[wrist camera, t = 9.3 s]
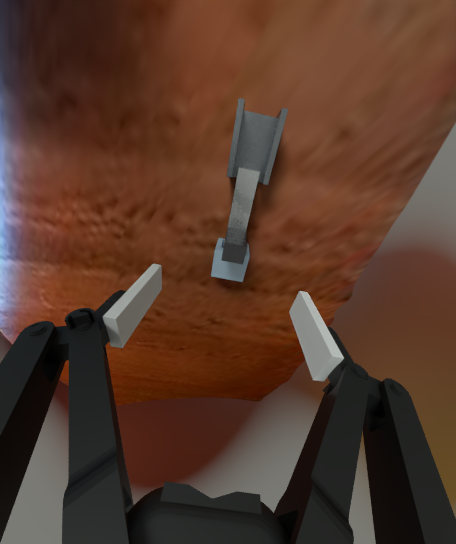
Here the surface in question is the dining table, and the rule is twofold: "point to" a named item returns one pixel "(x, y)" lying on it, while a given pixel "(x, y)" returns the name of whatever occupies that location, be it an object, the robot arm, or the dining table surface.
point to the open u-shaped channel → (255, 142)
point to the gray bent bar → (240, 216)
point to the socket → (228, 265)
